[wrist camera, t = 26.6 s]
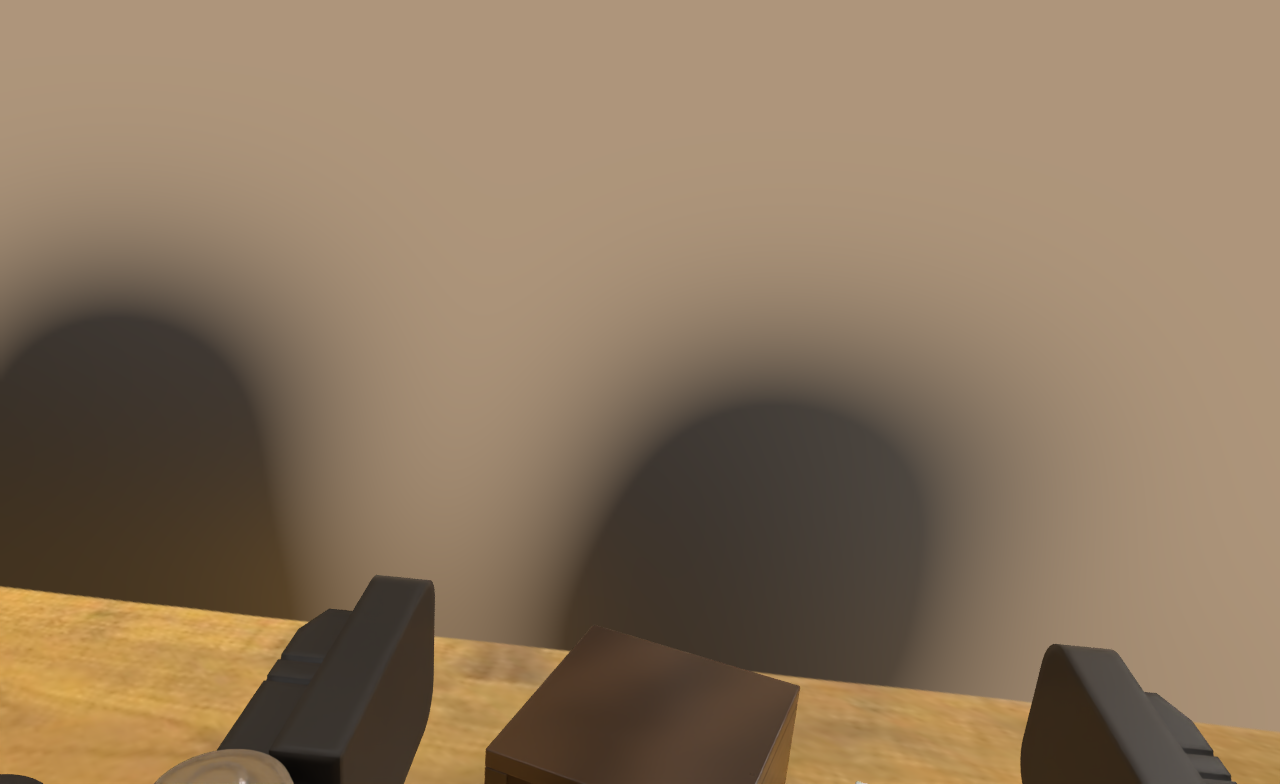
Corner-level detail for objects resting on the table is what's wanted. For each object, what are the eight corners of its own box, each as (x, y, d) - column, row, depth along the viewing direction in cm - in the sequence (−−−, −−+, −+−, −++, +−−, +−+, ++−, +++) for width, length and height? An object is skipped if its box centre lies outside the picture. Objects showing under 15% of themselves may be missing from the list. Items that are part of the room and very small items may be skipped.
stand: (781, 808, 57) (800, 685, 54) (713, 979, 46) (733, 837, 43) (584, 741, 61) (593, 624, 58) (480, 884, 50) (485, 748, 47)
